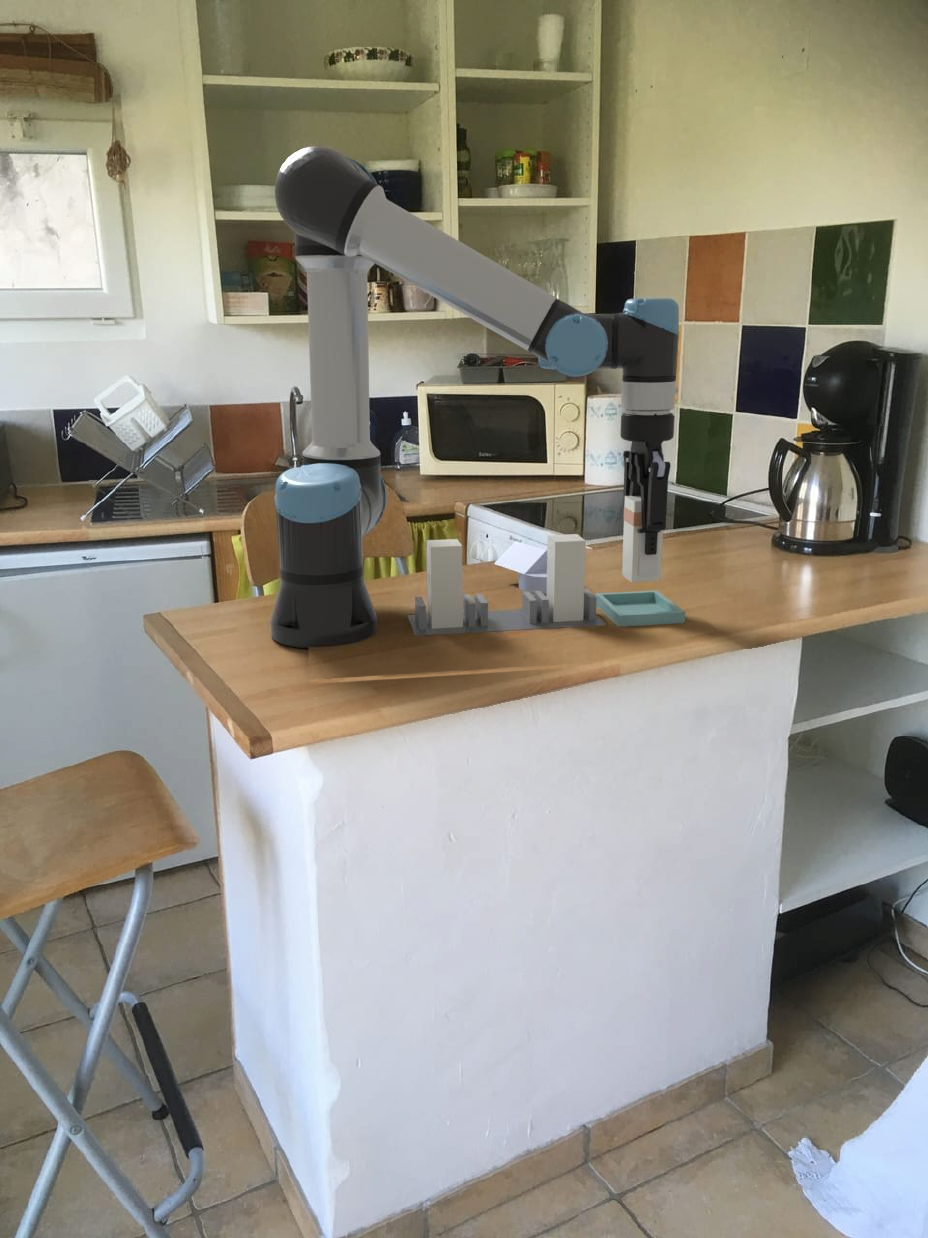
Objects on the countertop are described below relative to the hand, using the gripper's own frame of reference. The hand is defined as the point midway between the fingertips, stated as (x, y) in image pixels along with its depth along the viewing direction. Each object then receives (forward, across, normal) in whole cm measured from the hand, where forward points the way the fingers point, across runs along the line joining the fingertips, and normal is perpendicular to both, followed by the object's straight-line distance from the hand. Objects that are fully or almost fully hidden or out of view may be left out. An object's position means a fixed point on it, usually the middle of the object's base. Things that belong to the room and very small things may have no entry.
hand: (641, 570), depth 152 cm
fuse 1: (+6, 0, +30) cm, 30 cm away
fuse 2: (+6, 0, +12) cm, 13 cm away
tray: (+7, 0, 0) cm, 7 cm away
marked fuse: (+1, 0, 0) cm, 1 cm away
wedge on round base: (+7, +19, +11) cm, 23 cm away
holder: (+7, 0, +21) cm, 22 cm away
